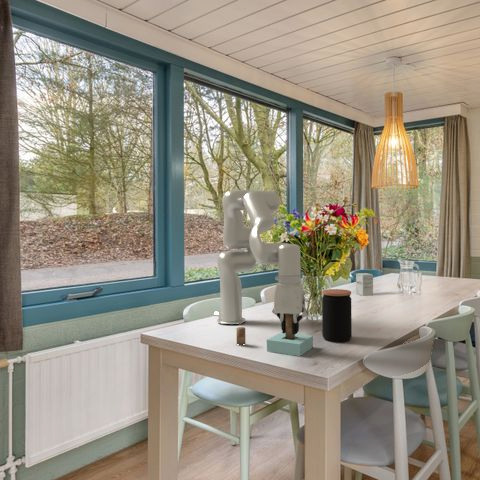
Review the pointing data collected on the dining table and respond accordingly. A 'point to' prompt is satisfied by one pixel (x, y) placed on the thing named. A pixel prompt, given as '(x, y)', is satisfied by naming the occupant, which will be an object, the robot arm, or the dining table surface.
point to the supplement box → (364, 284)
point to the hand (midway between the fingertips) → (290, 332)
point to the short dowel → (240, 335)
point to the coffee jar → (336, 315)
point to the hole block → (290, 344)
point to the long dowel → (289, 327)
